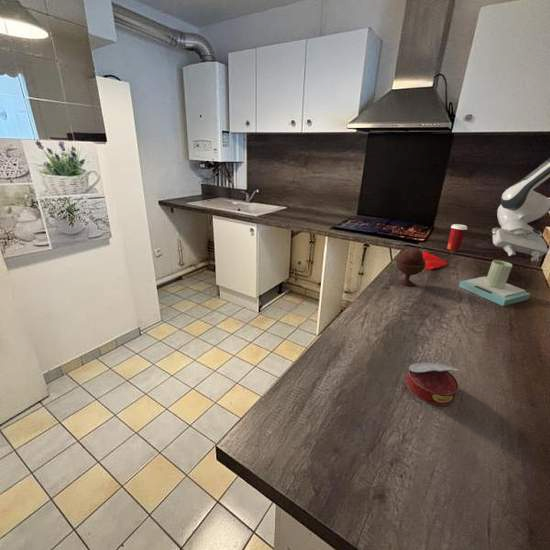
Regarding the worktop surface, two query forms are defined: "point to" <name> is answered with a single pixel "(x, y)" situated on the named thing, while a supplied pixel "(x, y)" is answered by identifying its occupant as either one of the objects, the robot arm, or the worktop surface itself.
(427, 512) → the worktop surface
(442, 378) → the canned food
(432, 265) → the cloth
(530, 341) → the worktop surface
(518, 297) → the scale
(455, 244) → the paper cup
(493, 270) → the cup
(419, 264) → the ice cream bowl
